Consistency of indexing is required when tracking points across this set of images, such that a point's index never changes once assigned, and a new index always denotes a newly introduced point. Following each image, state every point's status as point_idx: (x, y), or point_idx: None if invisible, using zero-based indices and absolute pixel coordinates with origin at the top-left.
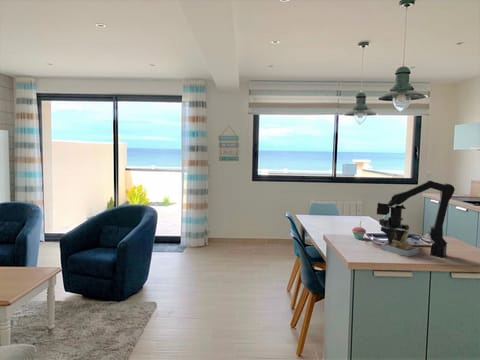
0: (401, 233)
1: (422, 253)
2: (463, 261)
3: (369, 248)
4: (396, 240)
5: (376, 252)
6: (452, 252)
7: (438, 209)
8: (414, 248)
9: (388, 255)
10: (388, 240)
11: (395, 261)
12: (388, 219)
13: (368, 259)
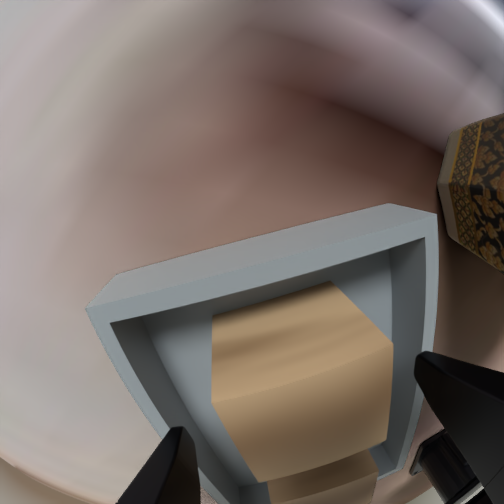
0: (501, 480)
1: None
2: (424, 484)
3: (3, 215)
4: (492, 229)
5: (19, 360)
6: None
7: None
8: (396, 451)
9: (89, 442)
10: (147, 469)
11: (88, 492)
12: None
13: None
